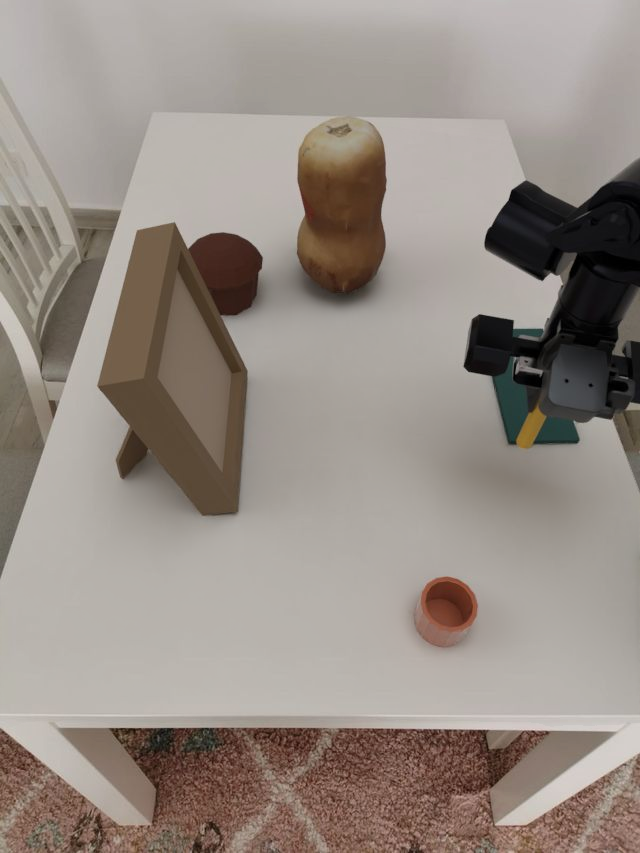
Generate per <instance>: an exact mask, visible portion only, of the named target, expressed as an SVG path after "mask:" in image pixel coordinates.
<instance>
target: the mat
mask: <svg viewBox="0 0 640 853" xmlns="http://www.w3.org/2000/svg"><path fill="white" fill-rule="evenodd" d="M543 332H544V328H513V337H517V338H519V336H520V335H527V336H533V337H538V338H541V336H542V334H543ZM513 360H514V357H511V356H510V360H509V364H508V368H507V370H506V373H505V374H502V375H499V376H497V377H492V376H491V378H492V383H493V386H494V390H495V395H496V398H497V402H498V407H499V410H500V415H501V418H502V424H503V427H504V431H505V436H506V439H507V444H508V445H517V443H516V440H517V437H518V435H519V433H520V431H521V429H522V427H523V425H524V423H525V420H526V418H527V416H528V414H529V412H528V409H527V392H526V389H525V386H523V385H518V384H515V383H514V382H513V380H512V372H513ZM544 371H545V370H544ZM579 442H580V436H579V433H578V430H577V428H576V424H575V421H572V420H567V419H562V418H557V417H548V416H547V417H546V419H545V421H544V423H543V425H542V427H541V429H540V431H539V433H538V435H537V436H536V438H535V440H534V442H533V444H532V445H547V444H549V445H550V444H551V445H553V444H555V445H556V444H578V443H579Z"/></svg>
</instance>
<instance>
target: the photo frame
mask: <svg viewBox="0 0 640 853" xmlns="http://www.w3.org/2000/svg"><path fill="white" fill-rule="evenodd" d="M188 248H189V247H188V246H187V244H186V241H185V240H184V238H183V235H182V234H181V231H180V230H179V227H178V225H177V223H176V222H175V221H174V222H173V221H172V222H169V223H165V224H159V225H154V226H150V227H146V228H140V229H136V233H135V237H134V240H133V244H132V248H131V252H130V256H129V260H128V264H127V268H126V272H125V276H124V279H123V284H122V287H121V291H120V295H119V299H118V303H117V307H116V310H115V314H114V318H113V322H112V327H111V329H110V330H111V331H110V334H109V338H108V342H107V345H106V346H107V347H106V351H105V354H104V357H103V362H102V365H101V369H100V374H99V378H98V382H97V385H96V386H97V388H98V389H99V390H100V391H101V393H102V394H103V395H104V396H105V398H106V399H107V400H108V401H109V403H110V404H111V405H112V407H113V408H114V409H115V410H116V411H117V413H119V415H120V416H121V417H122V419H123V420H124V421H125V422H126V423H127V424H128V426H129V427H128V430H127V432H126V434H125V437H124V439H123V442H122V444H121V447H120V449H119V451H118V453H117V456H116V458H115V463H116V467H117V471H118V474H119V478H120V479H122V480H124V479H125V478H126V477H127V476H128V475H129V474H130V472H131V471H133V470H134V468H136V467H137V465H138V464H140V462H141V461H142V460H143V459H144V458H146V456H147V455H148V452H150V453H151V454H152V456H153V457H154V459H156V460H157V461H158V463H159V465H160V466H162V467H163V469H164V470H165V471H166V473H167V474H168V475H169V476H170V478H171V479H172V480H173V481H174V482H175V483H176V485H177V486H178V488H180V490H181V491H182V492H183V493H184V495H185V496H186V497H187V499H188V500H189V501H190V502H191V503H192V505H193V506H194V507H195V508H196V510H197V511H198V512H199V513H200V514H201V515H202V517H203V516H213V515H219V514H220V515H221V514H226V513H228V514H229V513H236V512H238V511H239V501H240V500H239V499H240V486H241V470H242V456H243V445H244V442H243V441H244V431H245V430H244V428H245V414H246V402H247V401H246V399H247V388H248V387H247V386H248V385H247V384H248V372H249V370H248V369H247V366H246V365H245V362H244V360H243V359H242V357H241V354H240V353H239V350H238V349H237V345H236V344H235V342H234V340H233V338H232V336H231V334H230V332H229V330H228V327H227V325H226V324H225V321H224V320H223V317H222V316H221V315H220V313H219V311H218V309H217V307H216V305H215V303H214V301H213V299H212V297H211V295H210V293H209V291H208V289H207V287H206V285H205V283H204V281H203V279H202V277H201V275H200V273H199V270H198V268H197V266H196V264H195V262H194V260H193V258H192V256H191V254H190V252H189V250H188Z"/></svg>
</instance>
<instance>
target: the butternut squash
mask: <svg viewBox="0 0 640 853" xmlns="http://www.w3.org/2000/svg"><path fill="white" fill-rule="evenodd" d="M297 154H298V155H297V177H296V180H297V184H298V189H299V193H300V198H301V202H302V205H303V206H302V207H303V210H304V216H303V218H302V220H301V222H300V225H299V228H298V231H297V237H296V239H297V240H296V256H297V258H298V261H299V264H300V266H301V268H302V269H303V271H304V272H305V274H306V275H307V276H308V277H309V278H310V279H311V281H312V282H315V284H317V285H318V286H319V287H320V288H321V289H324V290H326V291H329V292H331V293H335V294H336V293H344V294H347V295H349V294H351V293H354V292H356V291H359V290H361V289H363V288H365V287H366V286H367V285H368V284H369V283H371V281H372V280H373V279H374V277H375V276H376V275H377V273H378V272H379V269H380V267H381V265H382V261H383V260H384V257H385V253H386V248H387V239H386V231H385V229H384V223H383V218H382V210H383V209H382V208H383V204H384V203H383V202H384V200H385V196H386V192H387V181H388V179H387V167H386V166H387V161H386V160H387V159H386V151H385V143H384V141H383V137H382V135H381V133H380V131H379V130H378V129H377V128H376V126H375V125H374V124H373V123H371V122H370V121H367V120H365V119H363V118H360V117H355V116H339V117H334V118H330V119H327V120H325V121H324V122H322V123H320V124H319V125H317V126H315V127H314V128H312V129H311V130H310V131H308V133H307V134H305V136H304V138H303V141H302V143H301V144H300V146H299V148H298V152H297Z"/></svg>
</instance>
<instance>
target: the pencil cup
mask: <svg viewBox="0 0 640 853" xmlns="http://www.w3.org/2000/svg"><path fill="white" fill-rule="evenodd" d="M478 610H479V603H478V601H477V596H476V594H475V593H474V591H473V590H472V589H471V588H470V586H469V585H468V584H467V583H465V582H464V581H462V580H461V579H458V578H456V577H451V576H440V577H436V578H434V579H432V580H430V581H429V582H428V583H427V584H426V585H425V587H424V588H423V590H422V592H421V594H420V596H419V599H418V602H417V604H416V607H415V610H414V616H413V617H414V618H413V620H414V624H415V628H416V630H417V633H419V635H420V636H421V638H422V639H424V640H425V641H426V642H427V643H429V644H431V645H432V646H436V647H439V648H448V647H453V646H455V645H457V644H458V643H460V642H461V641H463V639H464V637H465V636H466V634H467V632H469V630H470V628H471V626H472V625H473V623H474V621H475V620H476V619H477V616H478Z"/></svg>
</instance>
